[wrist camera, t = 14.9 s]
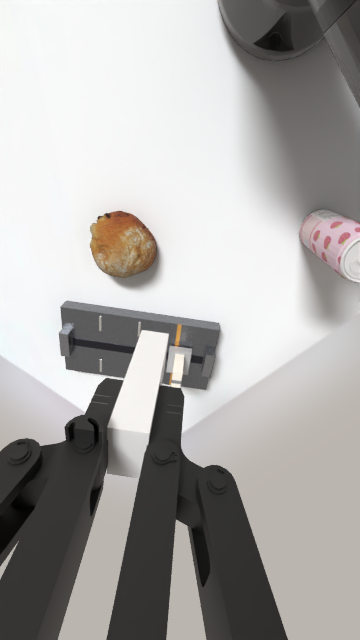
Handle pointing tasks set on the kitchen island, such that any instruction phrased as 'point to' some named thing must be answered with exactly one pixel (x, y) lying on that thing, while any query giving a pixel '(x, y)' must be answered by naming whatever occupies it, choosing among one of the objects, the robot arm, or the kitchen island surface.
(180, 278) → the kitchen island surface
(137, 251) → the bread roll
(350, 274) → the beverage can
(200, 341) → the console
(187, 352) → the fader
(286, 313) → the kitchen island surface
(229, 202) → the kitchen island surface
